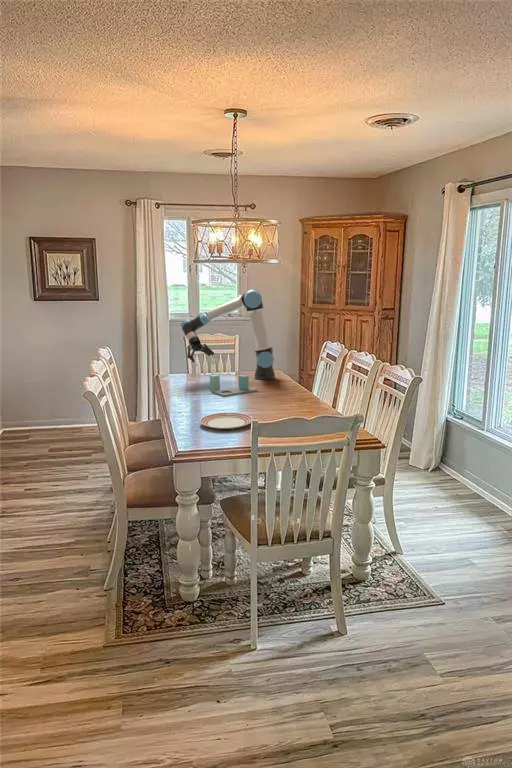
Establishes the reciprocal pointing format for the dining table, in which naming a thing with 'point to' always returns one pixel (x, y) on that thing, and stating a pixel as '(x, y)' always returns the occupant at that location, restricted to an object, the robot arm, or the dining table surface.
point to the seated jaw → (243, 382)
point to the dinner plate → (226, 420)
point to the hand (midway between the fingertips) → (205, 364)
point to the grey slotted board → (233, 391)
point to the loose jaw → (214, 382)
